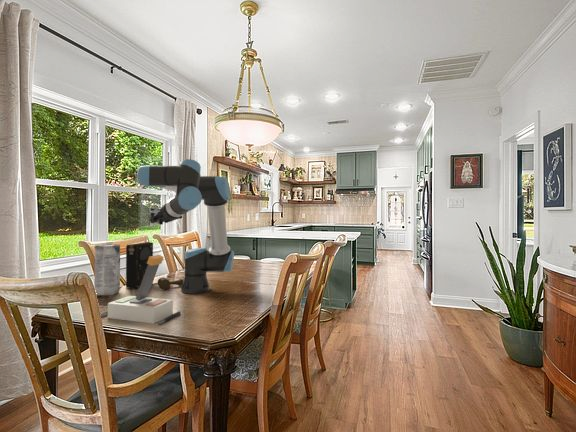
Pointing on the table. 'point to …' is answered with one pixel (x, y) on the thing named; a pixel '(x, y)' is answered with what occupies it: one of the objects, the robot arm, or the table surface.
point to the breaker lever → (149, 276)
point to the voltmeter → (137, 263)
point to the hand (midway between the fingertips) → (151, 223)
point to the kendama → (167, 283)
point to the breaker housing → (140, 309)
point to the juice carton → (107, 269)
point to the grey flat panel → (158, 321)
